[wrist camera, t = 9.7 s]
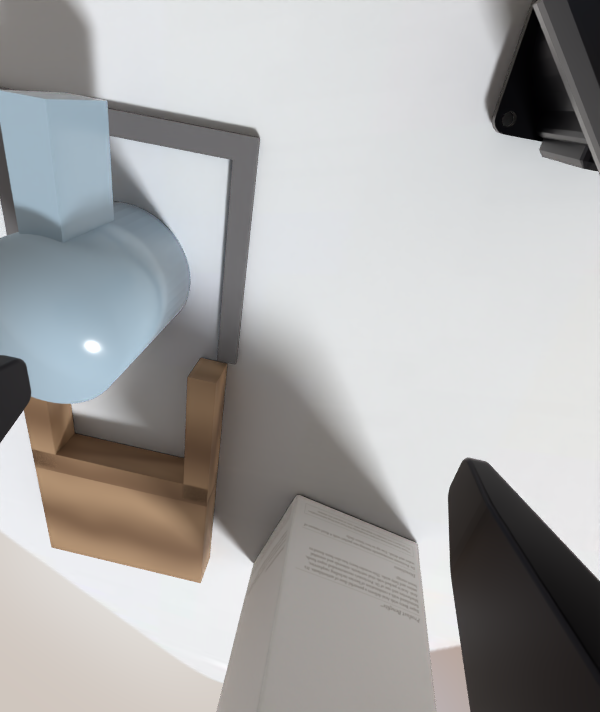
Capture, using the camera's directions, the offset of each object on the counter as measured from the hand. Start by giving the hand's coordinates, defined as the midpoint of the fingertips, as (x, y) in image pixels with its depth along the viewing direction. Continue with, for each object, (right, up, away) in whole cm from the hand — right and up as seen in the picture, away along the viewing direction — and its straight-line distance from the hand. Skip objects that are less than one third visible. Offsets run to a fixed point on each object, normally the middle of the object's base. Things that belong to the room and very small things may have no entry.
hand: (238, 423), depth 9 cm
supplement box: (+3, -12, +22) cm, 25 cm away
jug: (-7, +8, +12) cm, 16 cm away
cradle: (-9, -5, +20) cm, 22 cm away
